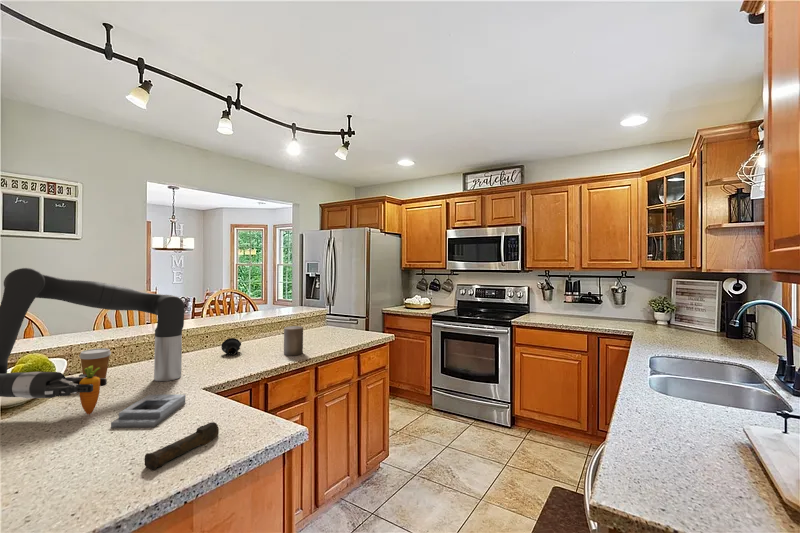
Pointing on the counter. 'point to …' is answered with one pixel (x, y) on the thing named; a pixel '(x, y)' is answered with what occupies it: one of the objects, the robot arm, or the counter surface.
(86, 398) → the carrot
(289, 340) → the pillar candle
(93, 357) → the disposable coffee cup
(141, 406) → the shallow gray tray
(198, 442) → the dark brown stick
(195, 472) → the counter surface
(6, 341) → the robot arm
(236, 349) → the black round flared piece
